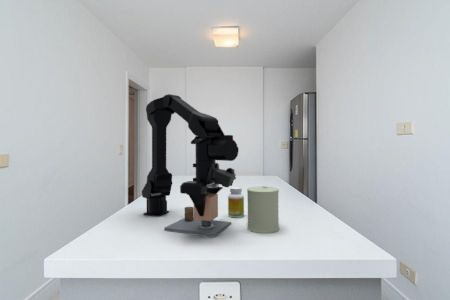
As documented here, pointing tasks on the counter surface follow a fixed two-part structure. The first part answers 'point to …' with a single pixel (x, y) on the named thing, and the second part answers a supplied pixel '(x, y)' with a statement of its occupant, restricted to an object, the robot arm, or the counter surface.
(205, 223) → the marker post
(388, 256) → the counter surface
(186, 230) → the board
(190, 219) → the walnut post
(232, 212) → the supplement bottle
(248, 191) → the can
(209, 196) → the terracotta colored cuboid
